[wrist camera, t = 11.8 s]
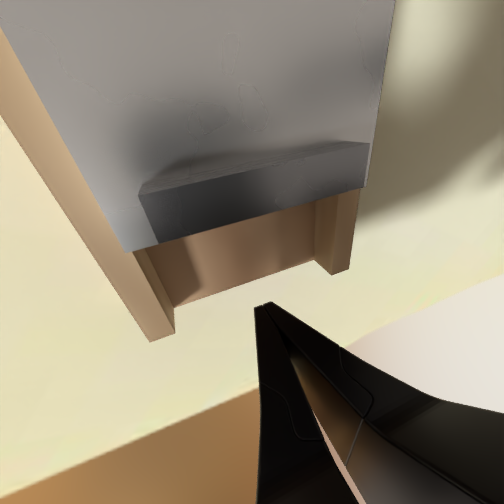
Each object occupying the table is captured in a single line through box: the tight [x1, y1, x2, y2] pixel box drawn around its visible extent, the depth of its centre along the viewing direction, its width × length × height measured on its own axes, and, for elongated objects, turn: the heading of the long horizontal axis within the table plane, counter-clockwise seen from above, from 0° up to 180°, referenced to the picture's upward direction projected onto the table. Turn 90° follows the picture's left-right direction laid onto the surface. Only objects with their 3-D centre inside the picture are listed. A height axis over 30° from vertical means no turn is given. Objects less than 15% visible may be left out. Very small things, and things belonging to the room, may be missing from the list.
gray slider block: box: [0, 0, 395, 253], centre depth 5 cm, size 7×6×4 cm
